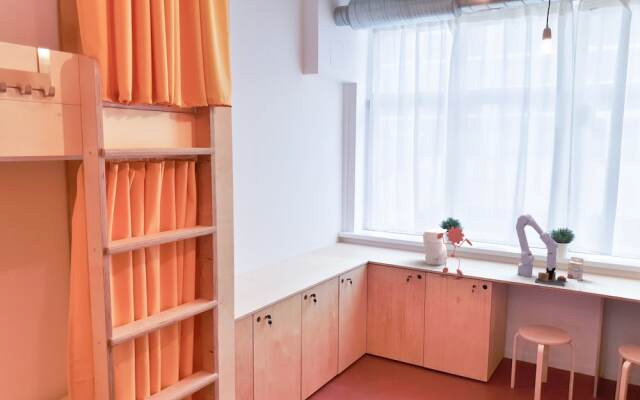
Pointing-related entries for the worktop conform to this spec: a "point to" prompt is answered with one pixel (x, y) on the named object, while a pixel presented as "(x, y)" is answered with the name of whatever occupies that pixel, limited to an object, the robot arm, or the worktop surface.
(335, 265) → the worktop surface
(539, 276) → the block
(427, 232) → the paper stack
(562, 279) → the button housing
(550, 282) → the grey divided tray
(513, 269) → the worktop surface
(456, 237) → the figurine
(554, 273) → the block
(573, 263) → the ink cartridge box
